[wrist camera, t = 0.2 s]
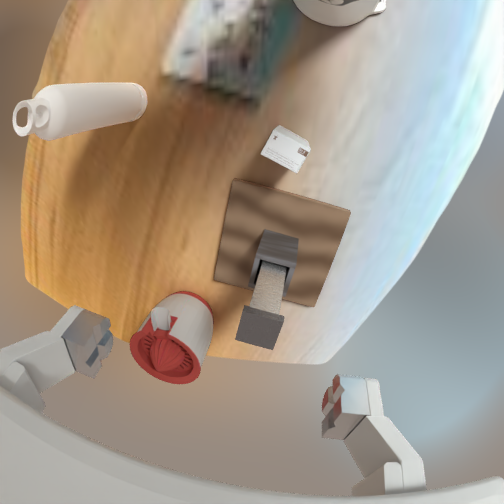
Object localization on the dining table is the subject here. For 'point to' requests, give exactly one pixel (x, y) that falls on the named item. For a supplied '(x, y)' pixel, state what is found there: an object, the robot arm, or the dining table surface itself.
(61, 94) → the bottle
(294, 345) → the dining table surface
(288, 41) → the dining table surface
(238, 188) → the stand
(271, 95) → the dining table surface
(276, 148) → the skincare box
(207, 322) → the citrus juicer
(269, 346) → the column
